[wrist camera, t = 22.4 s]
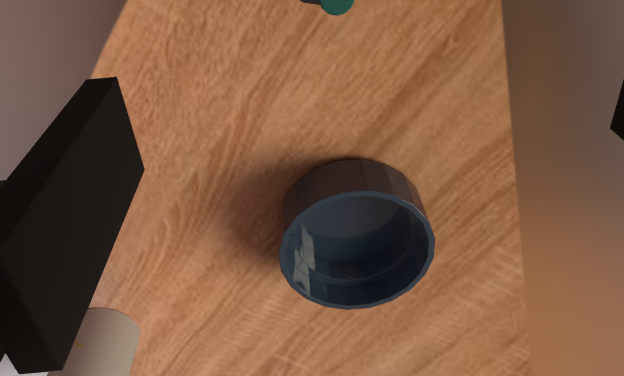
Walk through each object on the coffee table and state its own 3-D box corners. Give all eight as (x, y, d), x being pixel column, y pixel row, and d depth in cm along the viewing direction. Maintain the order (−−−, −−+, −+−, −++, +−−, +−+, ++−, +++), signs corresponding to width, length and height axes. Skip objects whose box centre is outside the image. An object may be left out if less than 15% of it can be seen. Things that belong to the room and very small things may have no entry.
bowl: (423, 149, 50) (439, 184, 45) (417, 263, 59) (430, 302, 54) (271, 163, 50) (270, 199, 45) (287, 274, 59) (287, 315, 54)
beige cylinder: (77, 300, 59) (36, 393, 49) (148, 319, 61) (122, 412, 52) (63, 343, 63) (22, 438, 53) (129, 359, 65) (102, 453, 56)
